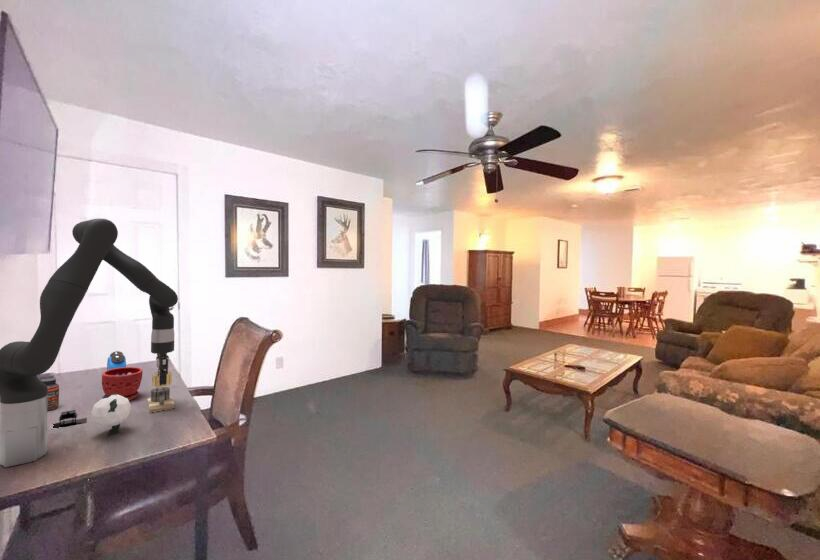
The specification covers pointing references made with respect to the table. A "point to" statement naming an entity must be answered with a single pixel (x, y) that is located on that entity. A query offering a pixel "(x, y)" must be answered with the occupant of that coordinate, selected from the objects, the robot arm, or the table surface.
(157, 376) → the brass gear
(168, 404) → the gear board
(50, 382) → the supplement bottle
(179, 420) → the table surface
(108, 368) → the alarm clock
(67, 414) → the black flared hood
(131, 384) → the plant pot
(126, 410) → the figurine
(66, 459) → the table surface
